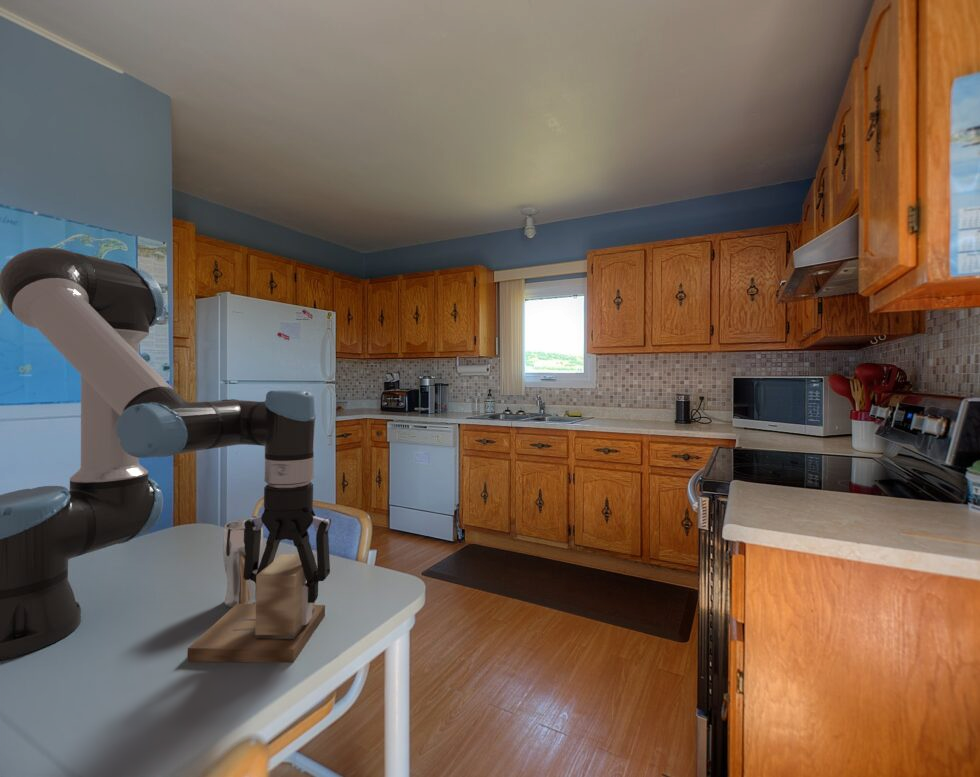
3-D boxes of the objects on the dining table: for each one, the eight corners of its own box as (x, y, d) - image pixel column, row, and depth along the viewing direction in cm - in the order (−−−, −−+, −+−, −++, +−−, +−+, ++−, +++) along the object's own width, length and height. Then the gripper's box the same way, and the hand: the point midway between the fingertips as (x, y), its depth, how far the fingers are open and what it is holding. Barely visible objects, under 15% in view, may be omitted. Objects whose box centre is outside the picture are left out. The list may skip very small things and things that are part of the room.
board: (187, 661, 69) (187, 648, 69) (236, 614, 83) (236, 603, 83) (293, 662, 70) (293, 649, 70) (324, 615, 84) (325, 604, 84)
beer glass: (245, 611, 85) (246, 530, 85) (212, 606, 86) (214, 527, 86) (270, 594, 92) (271, 519, 91) (240, 590, 93) (241, 517, 93)
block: (255, 638, 72) (256, 575, 72) (280, 610, 81) (281, 554, 81) (293, 638, 72) (294, 575, 72) (314, 610, 81) (315, 554, 81)
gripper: (218, 486, 72) (216, 631, 73) (339, 489, 73) (336, 633, 73) (243, 477, 80) (241, 608, 80) (352, 479, 80) (350, 610, 81)
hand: (286, 620), depth 77 cm, fingers closed on block, 6 cm apart
